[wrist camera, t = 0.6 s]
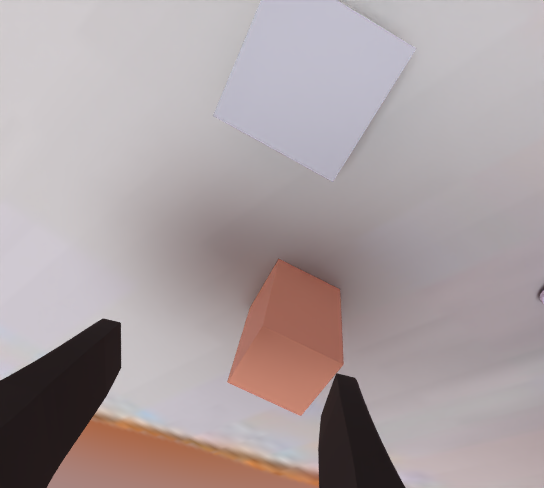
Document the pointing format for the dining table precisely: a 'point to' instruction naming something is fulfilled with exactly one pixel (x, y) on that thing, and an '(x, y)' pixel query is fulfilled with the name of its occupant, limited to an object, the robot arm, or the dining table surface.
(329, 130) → the tower upper
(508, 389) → the dining table surface
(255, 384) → the brick block
